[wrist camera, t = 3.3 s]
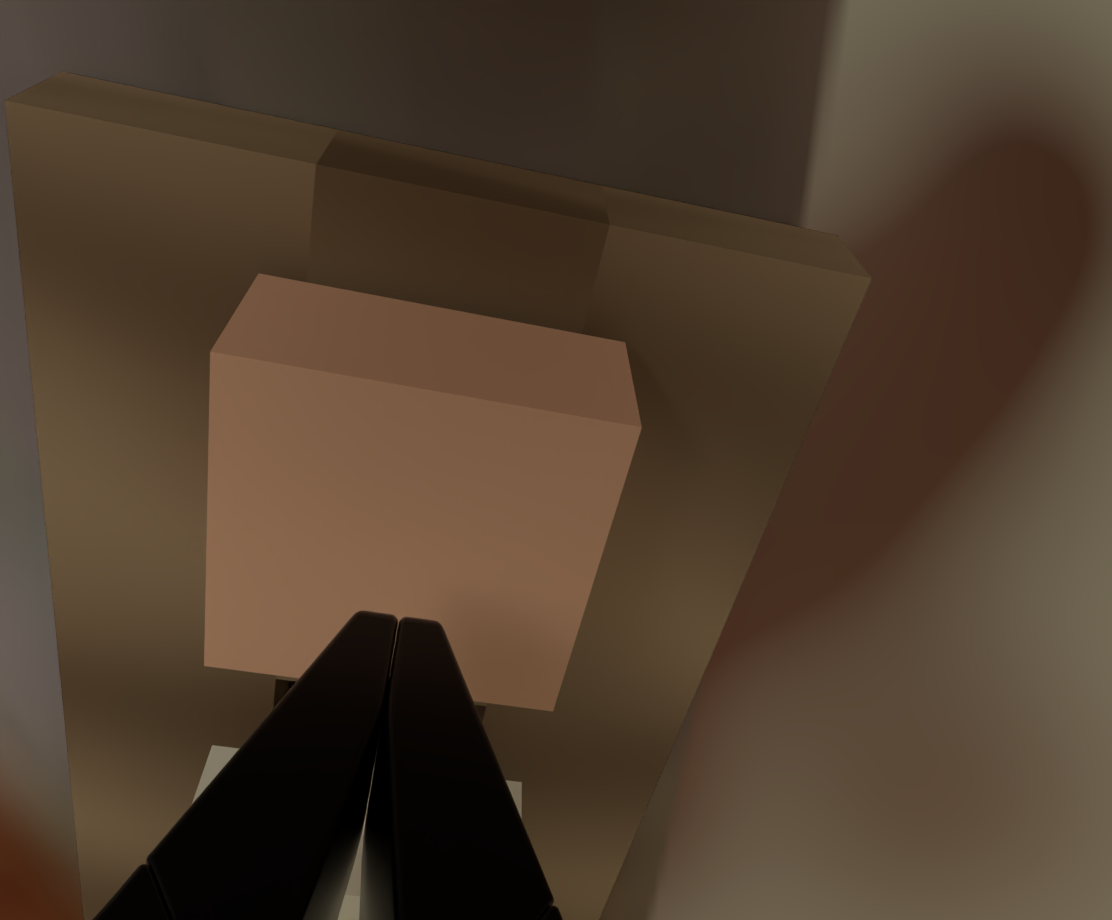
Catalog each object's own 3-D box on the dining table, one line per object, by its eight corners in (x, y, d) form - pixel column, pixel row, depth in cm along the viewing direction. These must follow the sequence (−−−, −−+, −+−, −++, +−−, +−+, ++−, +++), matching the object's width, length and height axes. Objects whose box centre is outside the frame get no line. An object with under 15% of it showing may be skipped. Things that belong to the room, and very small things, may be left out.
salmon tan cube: (547, 542, 15) (552, 712, 12) (269, 499, 15) (203, 666, 12) (615, 292, 13) (641, 426, 10) (286, 228, 12) (210, 351, 9)
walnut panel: (537, 996, 23) (538, 1062, 22) (118, 960, 22) (94, 1027, 21) (837, 235, 13) (871, 278, 11) (61, 71, 11) (4, 99, 10)
